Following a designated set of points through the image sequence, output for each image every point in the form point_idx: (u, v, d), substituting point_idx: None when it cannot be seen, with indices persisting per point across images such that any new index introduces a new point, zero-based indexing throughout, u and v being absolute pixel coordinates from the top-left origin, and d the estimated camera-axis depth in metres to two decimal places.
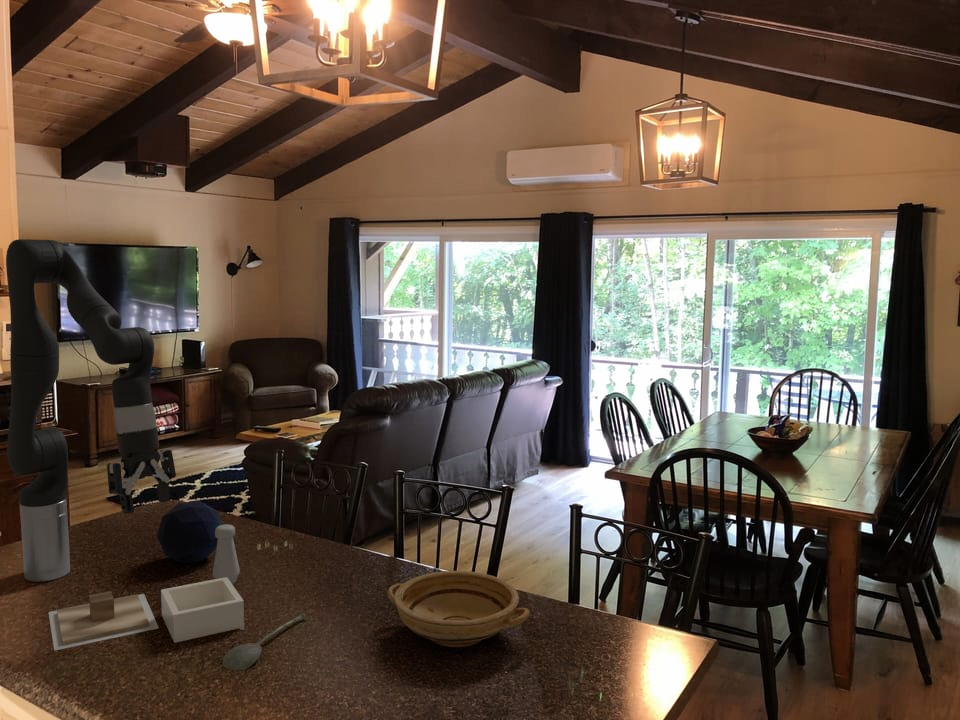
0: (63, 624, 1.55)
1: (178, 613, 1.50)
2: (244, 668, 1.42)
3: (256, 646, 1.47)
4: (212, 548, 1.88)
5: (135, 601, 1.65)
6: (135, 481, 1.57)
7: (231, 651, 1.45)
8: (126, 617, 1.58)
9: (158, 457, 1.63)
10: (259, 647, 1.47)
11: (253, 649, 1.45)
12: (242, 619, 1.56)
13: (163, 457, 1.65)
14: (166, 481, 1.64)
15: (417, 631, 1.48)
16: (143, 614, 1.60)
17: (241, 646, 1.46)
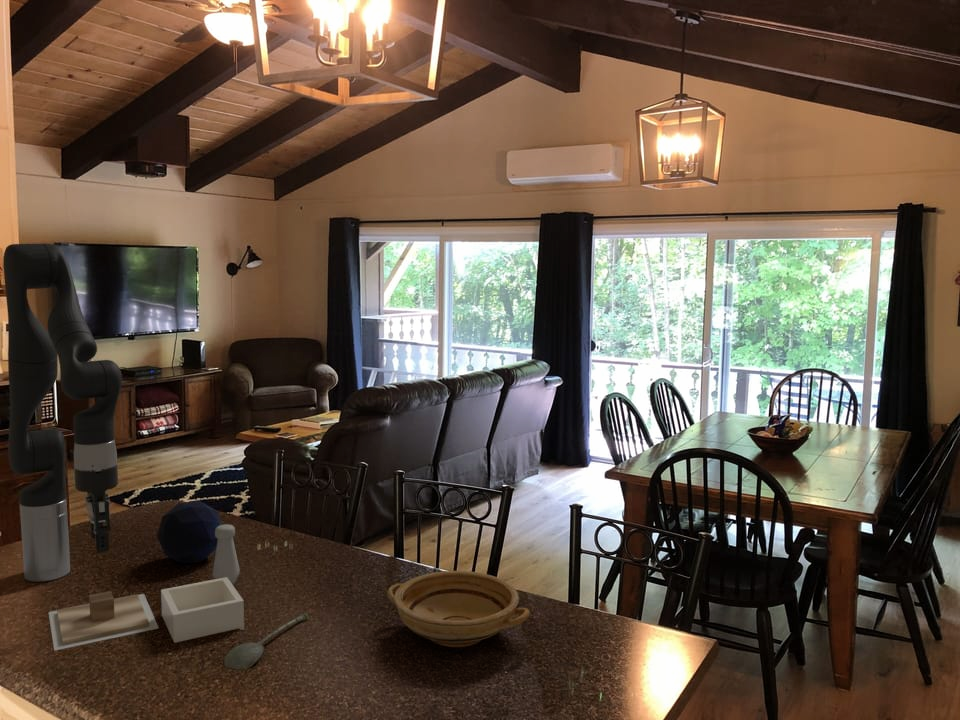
0: (63, 624, 1.55)
1: (178, 613, 1.50)
2: (246, 667, 1.42)
3: (258, 645, 1.47)
4: (212, 548, 1.88)
5: (135, 601, 1.65)
6: None
7: (233, 650, 1.46)
8: (126, 617, 1.58)
9: None
10: (261, 646, 1.47)
11: (255, 648, 1.46)
12: (242, 619, 1.56)
13: None
14: None
15: (417, 631, 1.48)
16: (143, 614, 1.60)
17: (243, 645, 1.46)
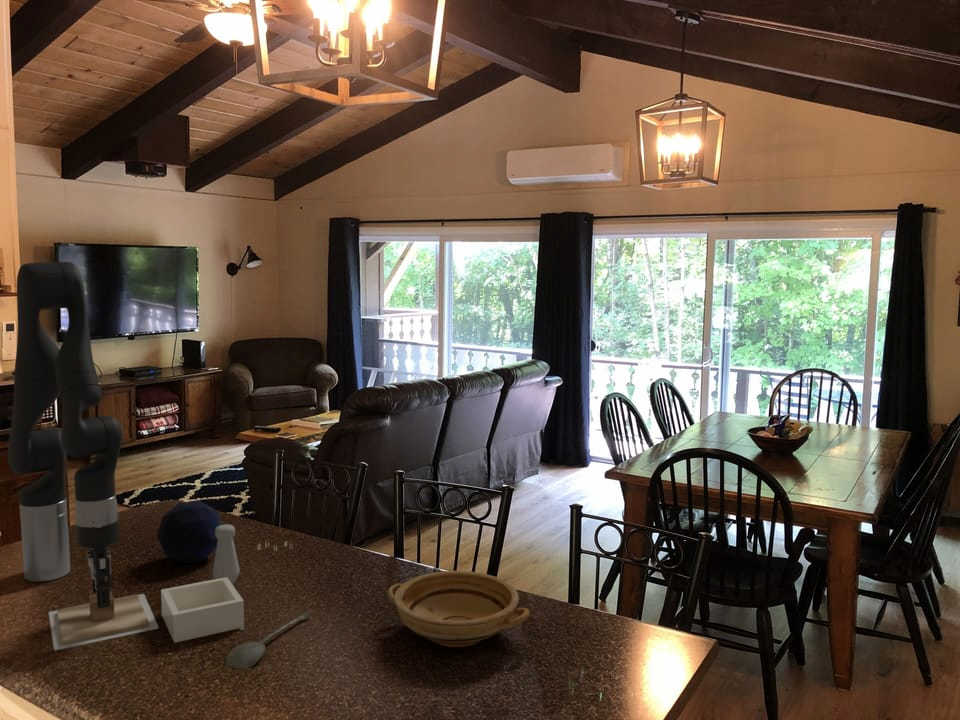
0: (63, 624, 1.55)
1: (178, 613, 1.50)
2: (247, 667, 1.43)
3: (259, 645, 1.47)
4: (212, 548, 1.88)
5: (135, 601, 1.65)
6: None
7: (235, 649, 1.46)
8: (126, 617, 1.58)
9: None
10: (262, 646, 1.47)
11: (256, 648, 1.46)
12: (242, 619, 1.56)
13: None
14: None
15: (417, 631, 1.48)
16: (143, 614, 1.60)
17: (245, 645, 1.47)
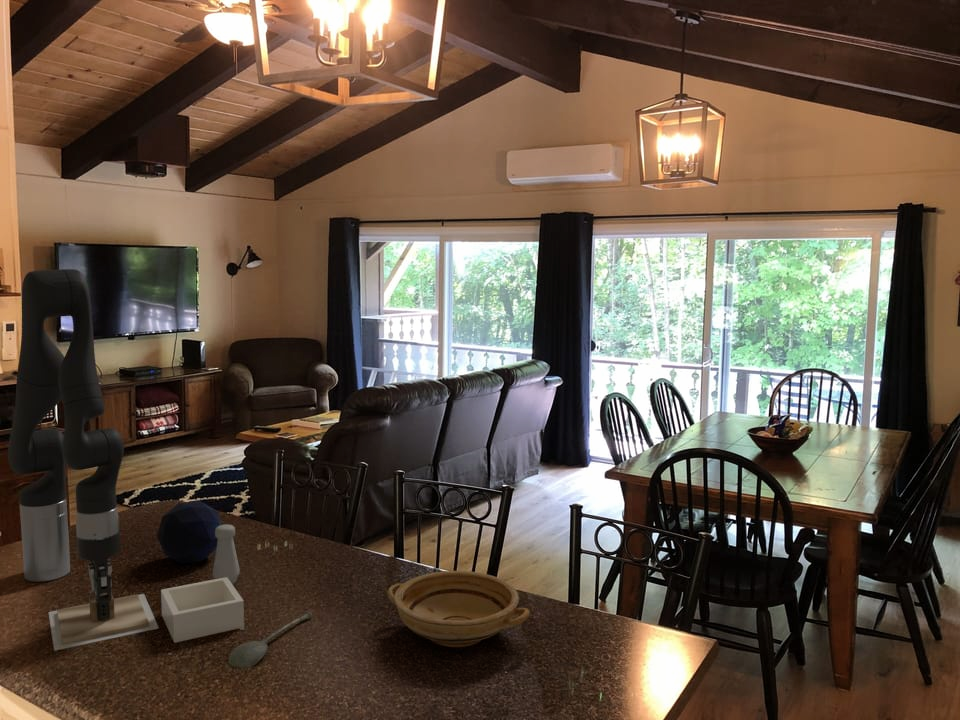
0: (63, 624, 1.55)
1: (178, 613, 1.50)
2: (249, 666, 1.43)
3: (262, 644, 1.48)
4: (212, 548, 1.88)
5: (135, 601, 1.65)
6: (111, 584, 1.57)
7: (237, 648, 1.46)
8: (126, 617, 1.58)
9: None
10: (265, 645, 1.48)
11: (259, 647, 1.46)
12: (242, 619, 1.56)
13: None
14: None
15: (417, 631, 1.48)
16: (143, 614, 1.60)
17: (247, 644, 1.47)
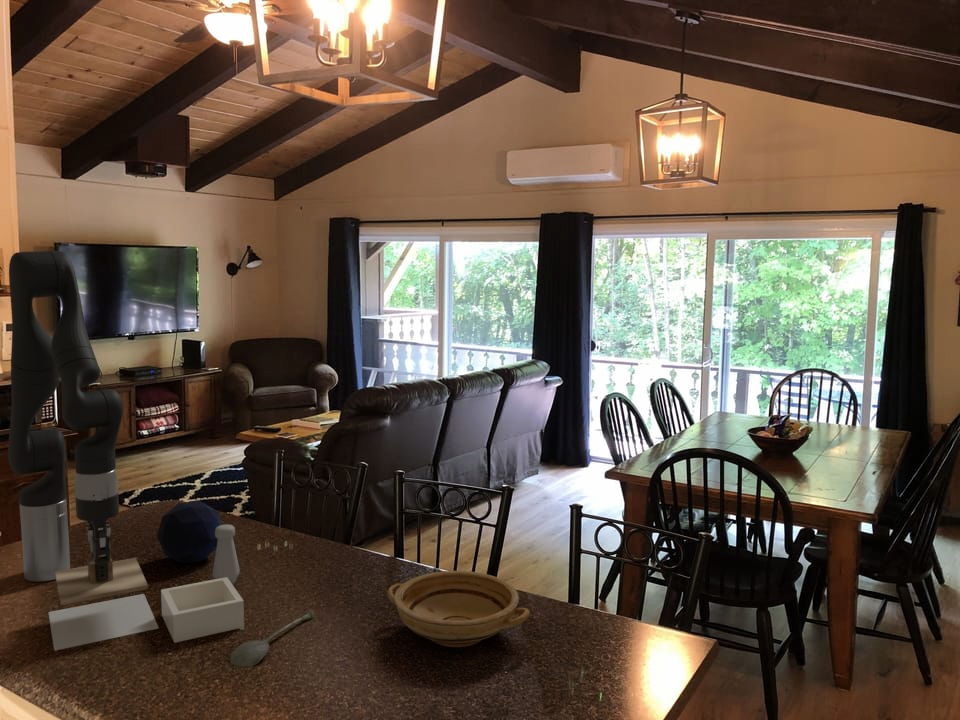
0: (61, 585, 1.54)
1: (178, 613, 1.50)
2: (251, 665, 1.43)
3: (263, 643, 1.48)
4: (212, 548, 1.88)
5: (134, 565, 1.65)
6: (109, 546, 1.56)
7: (239, 648, 1.47)
8: (125, 579, 1.58)
9: None
10: (266, 644, 1.48)
11: (260, 646, 1.46)
12: (242, 619, 1.56)
13: None
14: None
15: (417, 631, 1.48)
16: (142, 576, 1.59)
17: (249, 643, 1.47)
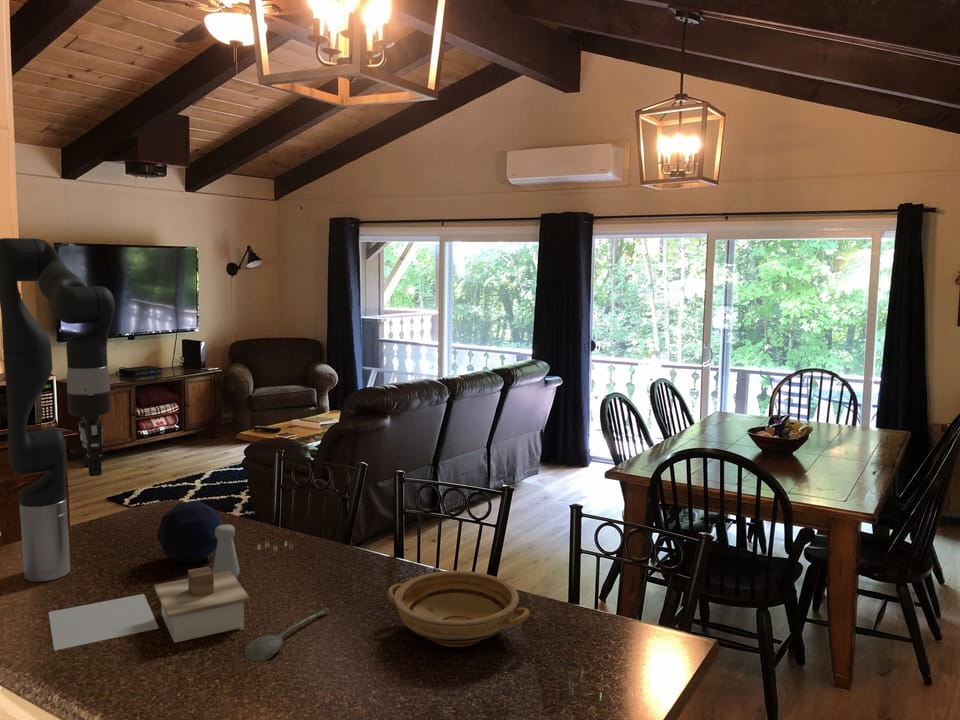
0: (164, 598, 1.54)
1: None
2: (264, 659, 1.45)
3: (277, 638, 1.50)
4: (212, 548, 1.88)
5: (230, 577, 1.65)
6: (102, 442, 1.56)
7: (253, 642, 1.49)
8: (225, 592, 1.58)
9: None
10: (280, 639, 1.50)
11: (274, 641, 1.48)
12: (242, 619, 1.56)
13: None
14: None
15: (417, 631, 1.48)
16: (241, 589, 1.59)
17: (263, 638, 1.49)
